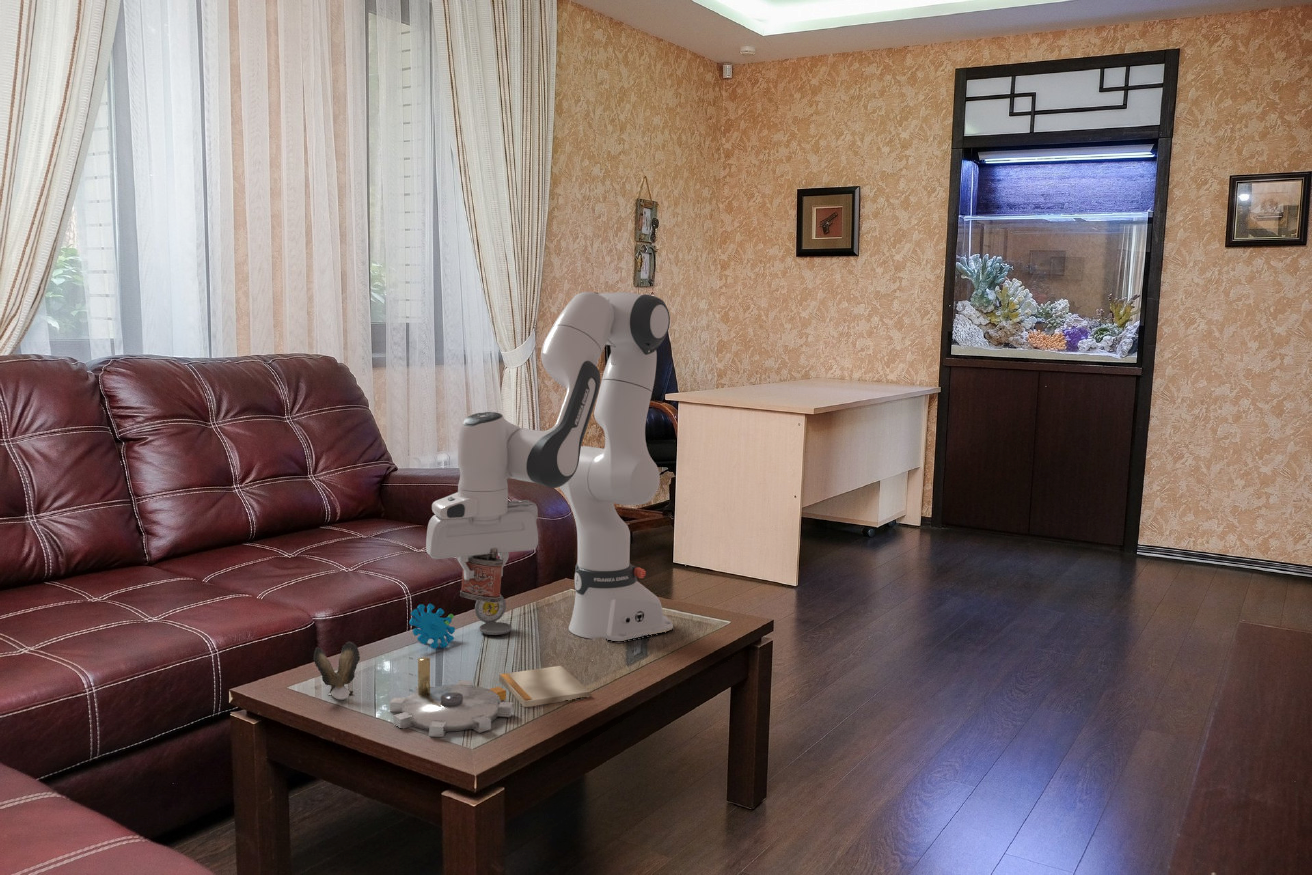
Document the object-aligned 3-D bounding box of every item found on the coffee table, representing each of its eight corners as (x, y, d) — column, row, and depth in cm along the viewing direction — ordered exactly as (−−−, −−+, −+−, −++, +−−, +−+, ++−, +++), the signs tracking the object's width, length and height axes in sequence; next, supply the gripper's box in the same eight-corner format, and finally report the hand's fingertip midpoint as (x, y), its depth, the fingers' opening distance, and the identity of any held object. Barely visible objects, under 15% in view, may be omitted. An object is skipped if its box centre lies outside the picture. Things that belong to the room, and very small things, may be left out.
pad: (560, 670, 189) (560, 664, 189) (590, 696, 177) (590, 690, 177) (499, 679, 184) (499, 673, 184) (524, 707, 172) (524, 700, 172)
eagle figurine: (344, 686, 179) (343, 637, 178) (369, 696, 174) (369, 646, 173) (306, 699, 173) (305, 648, 172) (331, 709, 168) (330, 657, 167)
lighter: (504, 599, 185) (507, 545, 184) (494, 603, 182) (498, 549, 181) (466, 592, 188) (469, 539, 187) (456, 596, 185) (459, 542, 184)
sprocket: (451, 680, 182) (452, 639, 181) (537, 707, 171) (537, 663, 170) (363, 715, 165) (363, 670, 164) (451, 747, 154) (451, 699, 153)
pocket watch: (498, 638, 207) (498, 590, 206) (466, 631, 211) (466, 584, 210) (522, 628, 214) (522, 582, 213) (490, 621, 218) (491, 576, 217)
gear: (429, 651, 195) (404, 608, 198) (413, 666, 198) (388, 624, 201) (469, 636, 205) (444, 595, 207) (453, 651, 207) (428, 611, 210)
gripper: (531, 495, 190) (531, 567, 192) (423, 503, 181) (424, 578, 183) (543, 502, 185) (543, 575, 186) (432, 510, 175) (432, 588, 177)
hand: (483, 577), depth 185 cm, fingers closed on lighter, 4 cm apart
